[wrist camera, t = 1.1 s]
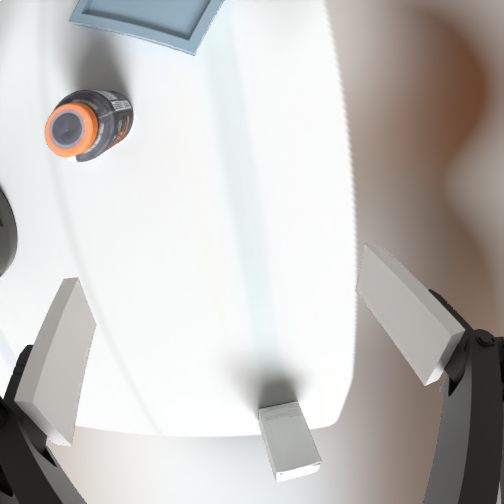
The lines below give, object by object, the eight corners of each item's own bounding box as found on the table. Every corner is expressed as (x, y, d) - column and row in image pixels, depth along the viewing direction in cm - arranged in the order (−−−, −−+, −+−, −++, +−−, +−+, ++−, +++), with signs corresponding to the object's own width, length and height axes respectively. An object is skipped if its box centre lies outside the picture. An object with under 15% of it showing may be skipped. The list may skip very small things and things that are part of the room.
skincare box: (258, 421, 57) (273, 483, 44) (257, 406, 54) (274, 474, 41) (297, 414, 58) (317, 473, 45) (300, 398, 55) (322, 462, 42)
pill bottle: (107, 157, 29) (68, 187, 19) (71, 121, 26) (19, 137, 17) (146, 116, 28) (121, 126, 18) (109, 79, 25) (67, 73, 15)
